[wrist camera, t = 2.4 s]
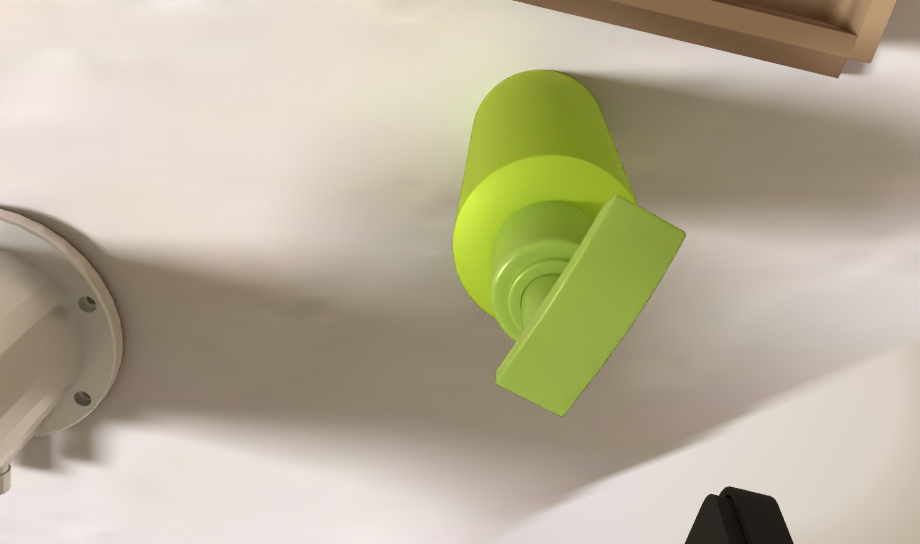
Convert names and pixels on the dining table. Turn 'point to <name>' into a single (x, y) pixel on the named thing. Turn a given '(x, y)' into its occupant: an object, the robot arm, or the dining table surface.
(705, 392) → the dining table surface
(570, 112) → the soap dispenser
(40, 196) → the dining table surface
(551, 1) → the wooden tray
